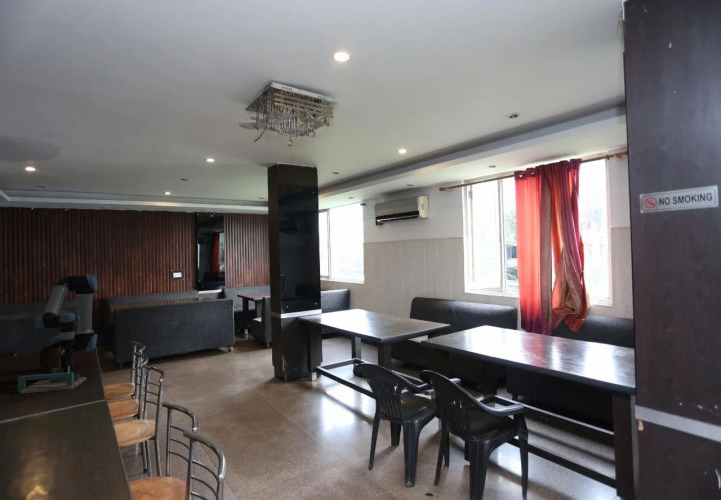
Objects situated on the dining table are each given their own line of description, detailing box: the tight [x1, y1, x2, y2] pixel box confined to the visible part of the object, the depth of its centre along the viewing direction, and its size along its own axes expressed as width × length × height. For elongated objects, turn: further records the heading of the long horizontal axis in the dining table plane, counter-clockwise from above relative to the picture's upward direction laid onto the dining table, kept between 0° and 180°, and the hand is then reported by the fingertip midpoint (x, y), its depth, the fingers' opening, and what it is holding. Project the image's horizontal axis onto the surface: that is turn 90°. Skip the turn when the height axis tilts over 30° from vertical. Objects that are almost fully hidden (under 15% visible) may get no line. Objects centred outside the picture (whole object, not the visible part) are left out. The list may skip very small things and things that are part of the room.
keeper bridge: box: [17, 371, 75, 393], centre depth 228 cm, size 2×26×8 cm, turn 105°
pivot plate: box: [19, 368, 87, 395], centre depth 234 cm, size 20×25×9 cm
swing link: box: [50, 373, 81, 382], centre depth 238 cm, size 15×4×3 cm, turn 105°
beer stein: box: [38, 346, 63, 381], centre depth 252 cm, size 15×11×20 cm
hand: (66, 377), depth 241 cm, fingers closed
